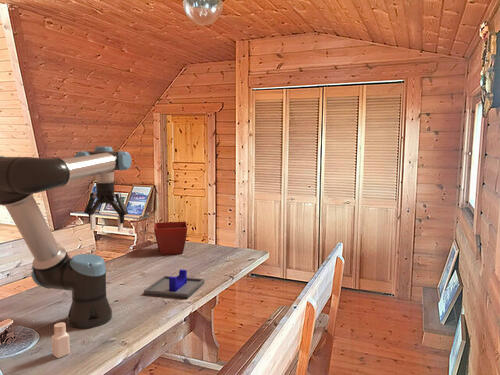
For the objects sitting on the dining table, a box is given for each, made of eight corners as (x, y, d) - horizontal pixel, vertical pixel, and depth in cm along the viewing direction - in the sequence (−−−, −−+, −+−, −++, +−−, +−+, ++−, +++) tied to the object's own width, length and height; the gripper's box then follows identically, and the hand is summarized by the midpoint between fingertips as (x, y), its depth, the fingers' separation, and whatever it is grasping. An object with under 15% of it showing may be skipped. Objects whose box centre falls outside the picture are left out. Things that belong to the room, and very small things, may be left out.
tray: (187, 298, 165) (187, 294, 165) (144, 294, 170) (144, 290, 170) (204, 283, 185) (204, 279, 185) (164, 279, 189) (164, 275, 189)
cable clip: (177, 281, 184) (177, 269, 183) (186, 282, 183) (186, 269, 182) (166, 290, 172) (165, 277, 172) (175, 291, 171) (175, 278, 170)
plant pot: (154, 257, 229) (153, 228, 228) (155, 249, 248) (154, 222, 246) (187, 255, 233) (187, 227, 231) (186, 247, 252) (186, 221, 250)
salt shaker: (57, 359, 118) (55, 328, 117) (51, 354, 121) (50, 324, 120) (70, 354, 121) (69, 324, 120) (65, 349, 124) (63, 320, 123)
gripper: (135, 181, 174) (136, 229, 176) (85, 180, 179) (87, 227, 182) (126, 183, 166) (127, 233, 168) (74, 182, 172) (76, 230, 174)
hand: (106, 230), depth 175 cm, fingers open, 13 cm apart
